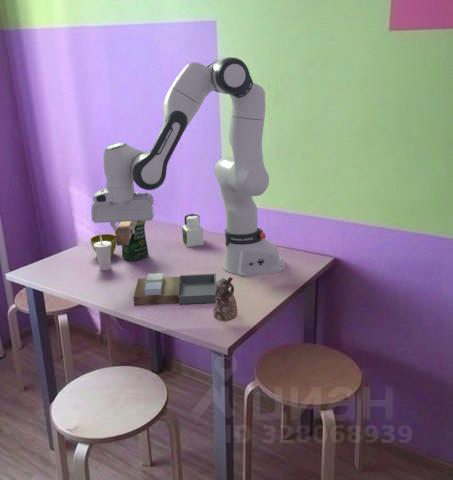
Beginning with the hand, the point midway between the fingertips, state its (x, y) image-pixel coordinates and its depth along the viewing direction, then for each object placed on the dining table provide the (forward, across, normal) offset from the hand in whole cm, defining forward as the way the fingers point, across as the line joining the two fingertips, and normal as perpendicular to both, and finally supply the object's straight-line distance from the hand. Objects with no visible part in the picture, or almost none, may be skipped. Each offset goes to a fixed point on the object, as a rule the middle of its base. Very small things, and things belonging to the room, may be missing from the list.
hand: (124, 233), depth 176 cm
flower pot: (+17, +12, -24) cm, 32 cm away
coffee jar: (+17, 0, -21) cm, 27 cm away
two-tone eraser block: (+2, 0, 0) cm, 2 cm away
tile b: (+14, -10, +17) cm, 24 cm away
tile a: (+14, -10, +10) cm, 20 cm away
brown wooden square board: (+17, -11, +13) cm, 24 cm away
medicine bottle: (+17, -22, -33) cm, 43 cm away
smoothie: (+17, +10, -11) cm, 23 cm away
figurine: (+17, -32, +29) cm, 47 cm away
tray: (+17, -24, +13) cm, 32 cm away
